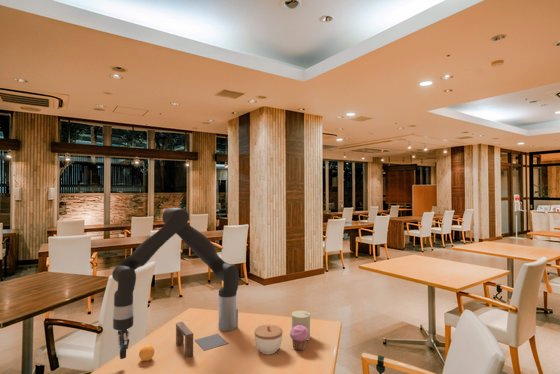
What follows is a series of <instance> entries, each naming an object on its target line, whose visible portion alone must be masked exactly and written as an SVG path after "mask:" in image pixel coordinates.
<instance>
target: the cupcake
mask: <svg viewBox="0 0 560 374" xmlns="http://www.w3.org/2000/svg"><path fill="white" fill-rule="evenodd" d="M289 336H290V338H291V341H292V348H293V349H294V350H297V349H298V351H304V349H305V346H306V343H307V341H306V340H307V338H308V337H309V331H308V329H307V328H306V327H305V326H302V325H297V326H295V327H293V328H292V327H291V329H290V331H289Z"/></svg>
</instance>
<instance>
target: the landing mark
mask: <svg viewBox="0 0 560 374" xmlns="http://www.w3.org/2000/svg"><path fill="white" fill-rule="evenodd" d="M194 341H195V342H196V343H197V345H198V346H199V347H200V348H201V349H202V350H203V351H209V350H211V349H214V348H217V347H221V346H225V345H228V344H229V342H228V341H227V340H226V339H225V338H223V337H222V335H220V333H216V334H211V335H208V336H204V337H201V338H196V339H195V340H194Z"/></svg>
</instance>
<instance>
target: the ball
mask: <svg viewBox="0 0 560 374" xmlns="http://www.w3.org/2000/svg"><path fill="white" fill-rule="evenodd" d="M154 348H155V347H154V346H152V345H150V344H147V345H144V346H142V347H141V348H140V350H139V353H138V357H139V359H140V360H141V361H143V362H147V361H150V360H152V358H153V357H154V355H155V349H154Z"/></svg>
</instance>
